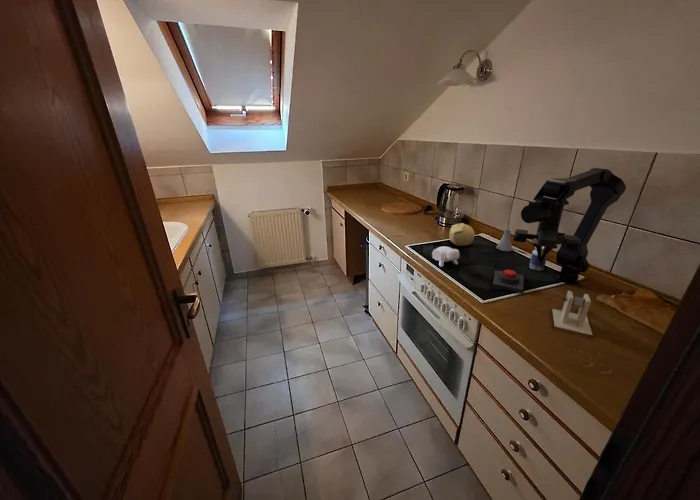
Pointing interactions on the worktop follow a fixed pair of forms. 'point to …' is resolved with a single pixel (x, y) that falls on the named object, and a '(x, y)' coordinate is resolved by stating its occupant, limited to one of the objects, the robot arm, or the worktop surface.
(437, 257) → the white animal figurine
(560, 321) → the beige u-shaped holder
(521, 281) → the button housing
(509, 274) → the button
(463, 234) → the sculpture
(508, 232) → the flask
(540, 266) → the pill bottle
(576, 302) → the lever
